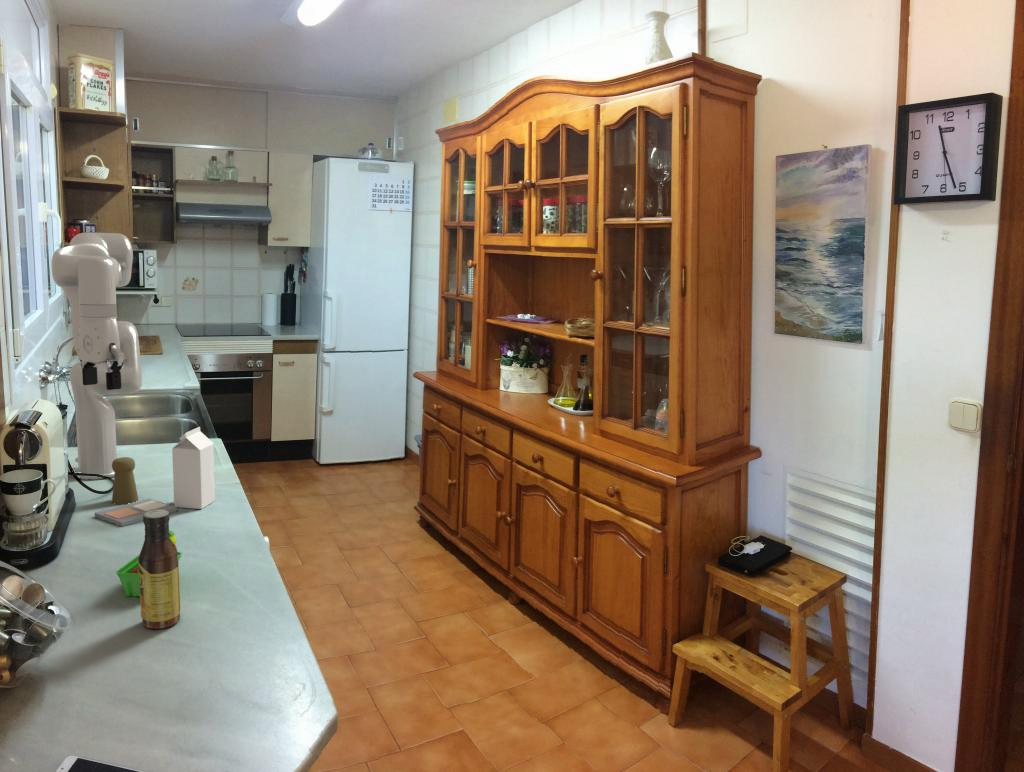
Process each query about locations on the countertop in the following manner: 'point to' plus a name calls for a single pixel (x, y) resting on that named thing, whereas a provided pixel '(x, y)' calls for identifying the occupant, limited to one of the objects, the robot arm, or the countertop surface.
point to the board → (132, 511)
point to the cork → (124, 481)
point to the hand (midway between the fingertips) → (102, 386)
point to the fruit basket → (135, 573)
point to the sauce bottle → (158, 573)
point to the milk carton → (193, 471)
